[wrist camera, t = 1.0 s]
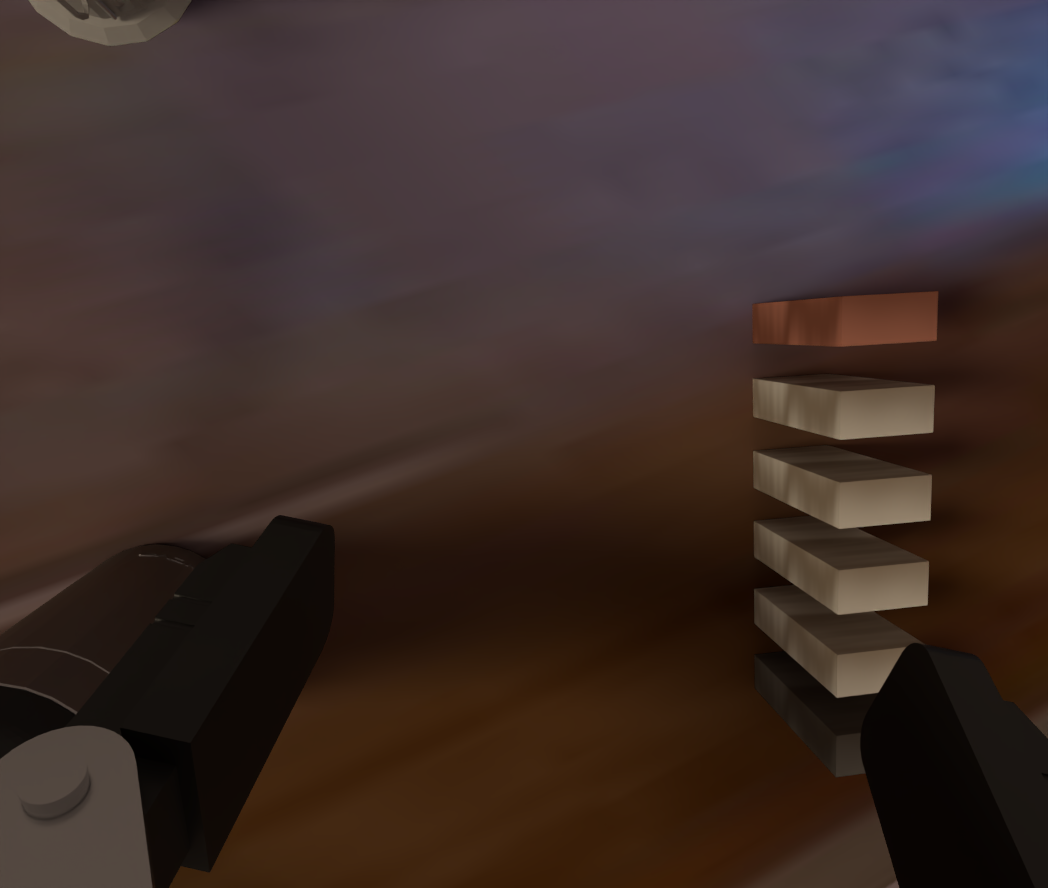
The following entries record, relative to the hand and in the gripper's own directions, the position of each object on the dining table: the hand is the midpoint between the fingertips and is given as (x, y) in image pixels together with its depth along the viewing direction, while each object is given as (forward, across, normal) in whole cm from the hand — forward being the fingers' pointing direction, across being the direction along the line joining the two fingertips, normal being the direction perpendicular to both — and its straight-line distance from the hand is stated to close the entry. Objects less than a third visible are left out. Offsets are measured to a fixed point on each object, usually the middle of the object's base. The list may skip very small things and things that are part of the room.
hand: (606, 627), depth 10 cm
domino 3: (+34, +14, -16) cm, 40 cm away
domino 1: (+37, +12, -7) cm, 40 cm away
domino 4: (+33, +15, -20) cm, 41 cm away
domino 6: (+29, +17, -28) cm, 44 cm away
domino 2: (+36, +13, -12) cm, 40 cm away
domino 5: (+31, +16, -24) cm, 42 cm away
